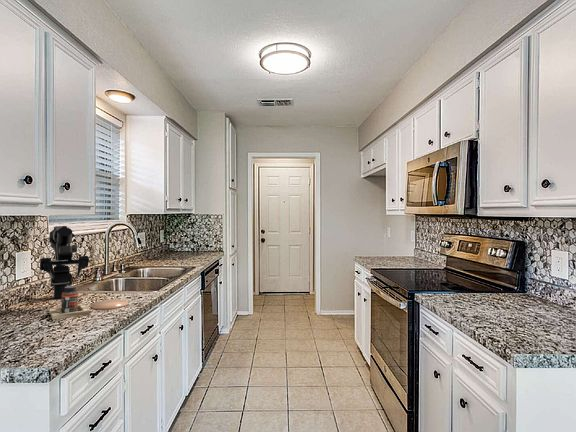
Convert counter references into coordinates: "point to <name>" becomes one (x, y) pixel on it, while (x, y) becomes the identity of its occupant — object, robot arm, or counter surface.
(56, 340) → the counter surface
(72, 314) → the birch collar
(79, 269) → the robot arm
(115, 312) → the counter surface
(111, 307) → the terracotta pad
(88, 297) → the counter surface
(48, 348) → the counter surface
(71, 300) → the supplement bottle
